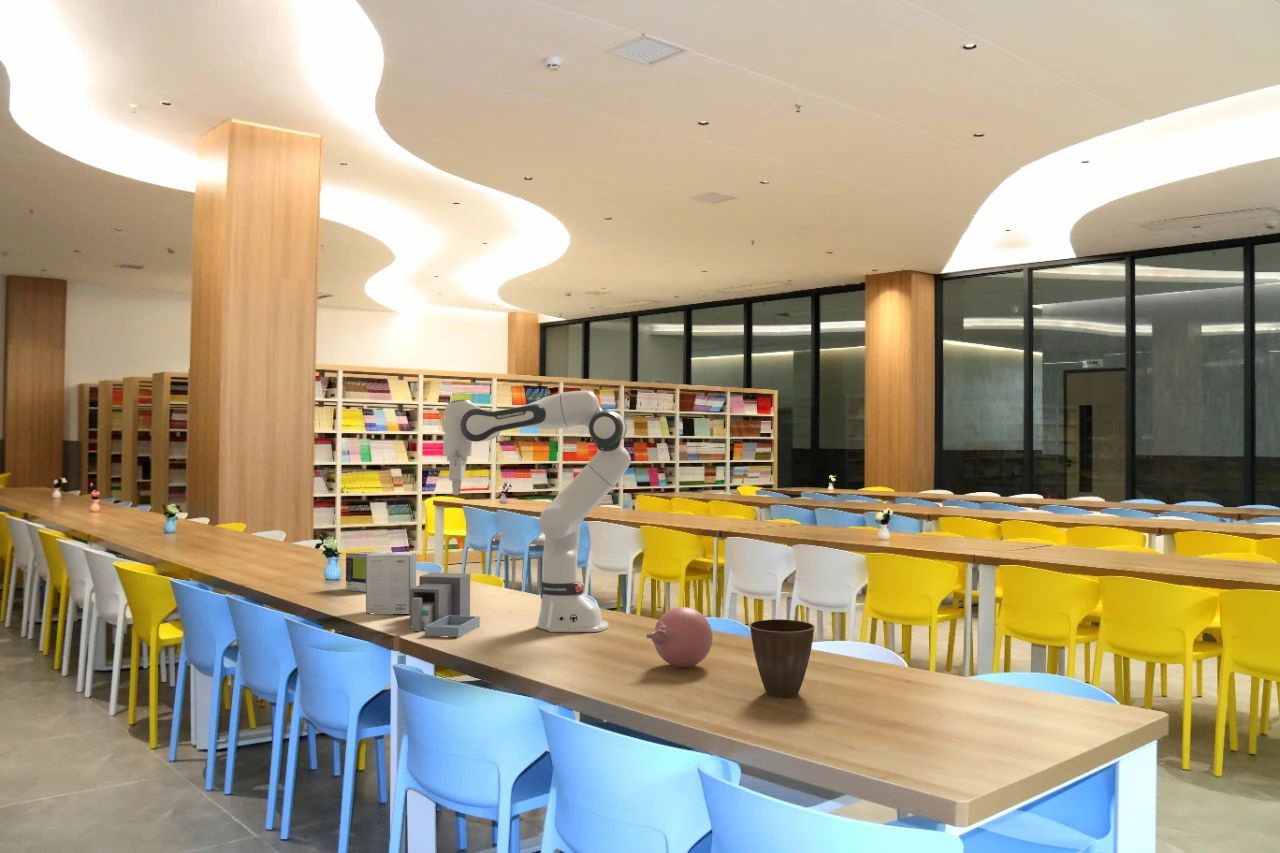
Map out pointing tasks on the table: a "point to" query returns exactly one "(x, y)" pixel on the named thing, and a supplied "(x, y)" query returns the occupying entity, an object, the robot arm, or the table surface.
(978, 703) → the table surface
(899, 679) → the table surface
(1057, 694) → the table surface
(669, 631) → the pink balloon
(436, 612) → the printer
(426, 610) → the white box teal stripe
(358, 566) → the tea box
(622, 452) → the robot arm
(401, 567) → the hard drive box
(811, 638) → the plant pot
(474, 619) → the tray
